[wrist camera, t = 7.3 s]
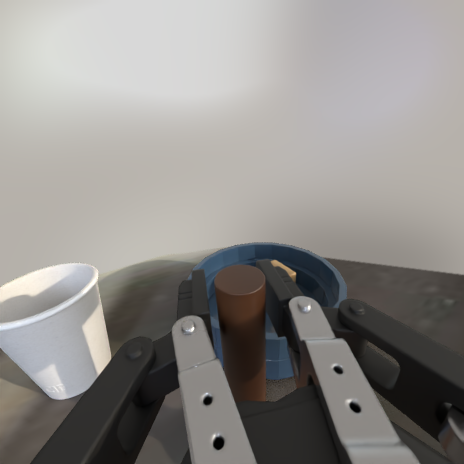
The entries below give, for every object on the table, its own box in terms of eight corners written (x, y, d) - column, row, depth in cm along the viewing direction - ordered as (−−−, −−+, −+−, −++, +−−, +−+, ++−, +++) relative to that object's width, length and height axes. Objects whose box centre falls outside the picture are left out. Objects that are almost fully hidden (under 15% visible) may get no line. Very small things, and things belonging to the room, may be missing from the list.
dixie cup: (110, 405, 19) (69, 316, 15) (2, 427, 18) (-71, 337, 14) (133, 329, 27) (110, 256, 23) (58, 341, 26) (20, 268, 22)
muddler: (229, 504, 14) (199, 315, 8) (221, 433, 17) (196, 262, 11) (284, 487, 14) (297, 297, 8) (266, 421, 18) (266, 252, 12)
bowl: (195, 403, 19) (185, 358, 17) (191, 283, 35) (186, 251, 33) (378, 361, 21) (391, 317, 19) (297, 266, 37) (299, 236, 35)
